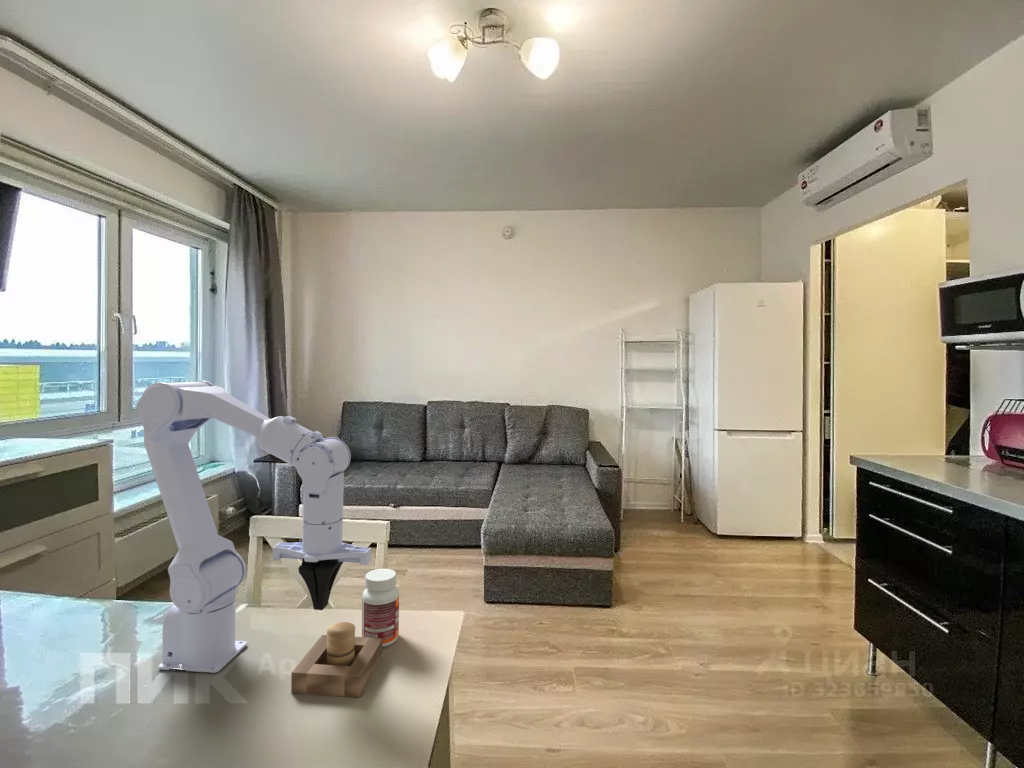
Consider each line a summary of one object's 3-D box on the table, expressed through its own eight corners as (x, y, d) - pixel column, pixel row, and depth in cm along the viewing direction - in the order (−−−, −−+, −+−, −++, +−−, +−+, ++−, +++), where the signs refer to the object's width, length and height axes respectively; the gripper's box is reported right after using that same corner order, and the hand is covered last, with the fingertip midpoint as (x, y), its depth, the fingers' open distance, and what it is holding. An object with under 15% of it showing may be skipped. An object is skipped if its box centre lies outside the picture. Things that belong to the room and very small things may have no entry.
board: (291, 693, 71) (291, 672, 71) (322, 652, 81) (322, 634, 81) (359, 697, 70) (360, 676, 70) (382, 656, 80) (382, 638, 80)
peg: (321, 681, 74) (322, 635, 74) (333, 665, 78) (334, 621, 78) (347, 683, 73) (348, 637, 73) (358, 667, 78) (359, 623, 77)
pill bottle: (403, 642, 85) (405, 577, 84) (367, 653, 81) (369, 585, 81) (391, 626, 90) (392, 564, 89) (356, 635, 86) (357, 571, 86)
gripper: (262, 524, 72) (260, 616, 72) (360, 530, 71) (357, 623, 72) (286, 510, 79) (285, 594, 79) (376, 515, 78) (374, 600, 79)
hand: (320, 606), depth 76 cm, fingers closed
